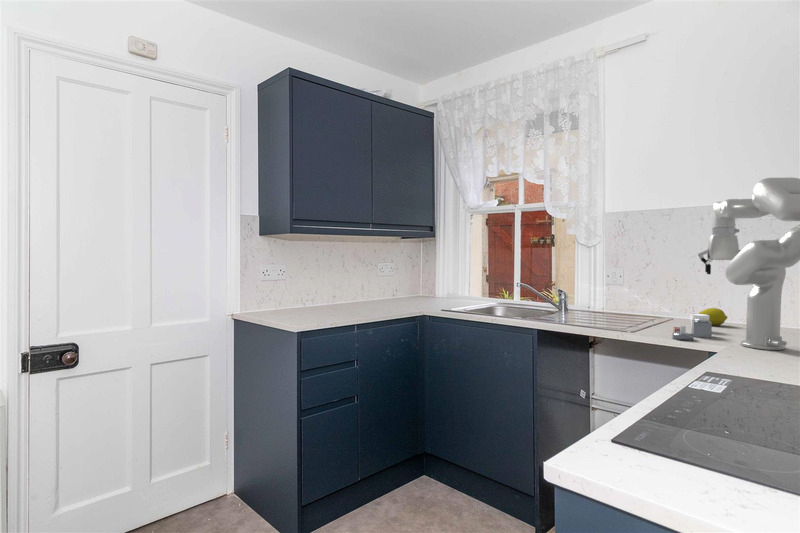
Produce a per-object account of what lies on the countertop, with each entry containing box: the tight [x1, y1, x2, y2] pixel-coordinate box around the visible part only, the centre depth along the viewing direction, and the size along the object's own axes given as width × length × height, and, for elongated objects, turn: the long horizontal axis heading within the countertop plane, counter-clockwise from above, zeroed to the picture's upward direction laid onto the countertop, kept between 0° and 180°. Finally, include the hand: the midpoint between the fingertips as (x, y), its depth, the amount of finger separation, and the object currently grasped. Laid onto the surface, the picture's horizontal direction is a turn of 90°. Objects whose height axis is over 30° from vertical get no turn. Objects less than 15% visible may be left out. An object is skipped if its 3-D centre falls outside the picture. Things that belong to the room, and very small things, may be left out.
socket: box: [690, 318, 713, 339], centre depth 185 cm, size 6×6×7 cm
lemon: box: [698, 307, 728, 327], centre depth 211 cm, size 11×8×8 cm
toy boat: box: [671, 325, 695, 342], centre depth 185 cm, size 20×7×5 cm, turn 155°
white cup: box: [690, 313, 709, 328], centre depth 197 cm, size 7×7×7 cm
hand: (722, 274), depth 187 cm, fingers open, 9 cm apart
